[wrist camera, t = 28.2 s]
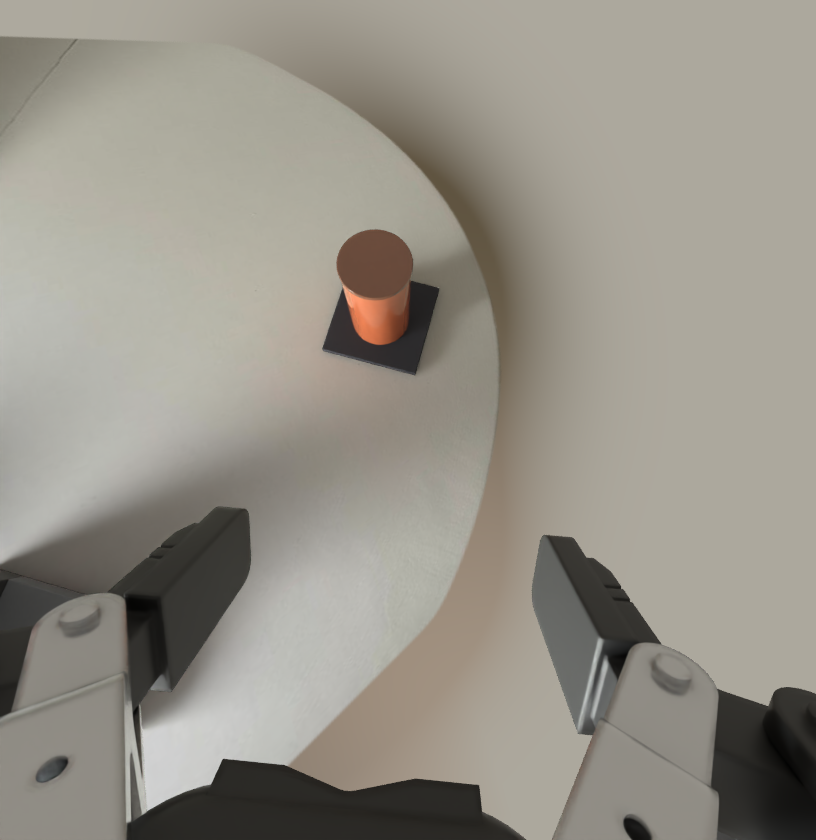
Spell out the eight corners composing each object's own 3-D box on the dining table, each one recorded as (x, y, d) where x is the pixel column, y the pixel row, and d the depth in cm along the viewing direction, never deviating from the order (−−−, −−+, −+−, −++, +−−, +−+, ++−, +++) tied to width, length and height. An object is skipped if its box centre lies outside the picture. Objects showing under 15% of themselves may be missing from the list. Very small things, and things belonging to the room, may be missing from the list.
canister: (416, 299, 43) (421, 239, 33) (401, 352, 42) (401, 306, 32) (360, 285, 43) (349, 221, 33) (343, 337, 42) (326, 287, 32)
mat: (438, 290, 44) (439, 287, 43) (415, 375, 42) (415, 373, 41) (350, 268, 44) (350, 264, 44) (323, 351, 42) (322, 348, 42)
